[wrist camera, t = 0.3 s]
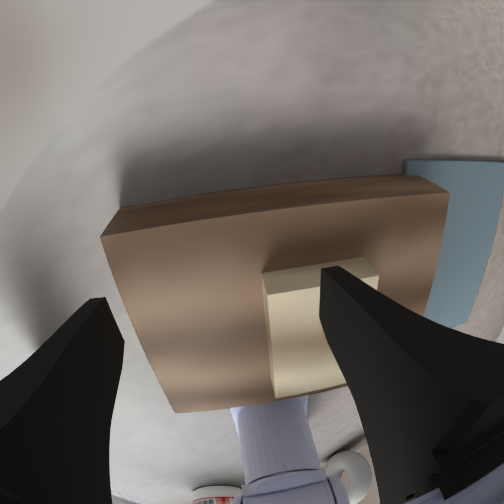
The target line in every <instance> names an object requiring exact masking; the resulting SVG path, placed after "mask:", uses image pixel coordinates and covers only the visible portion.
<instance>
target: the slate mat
mask: <svg viewBox="0 0 504 504" xmlns="http://www.w3.org/2000/svg"><path fill="white" fill-rule="evenodd" d="M404 174H405V175H407V176H413V175H419V176H421V177H423V178H425V179H427V180H428V181H430V182H432V183H434V184H436V185H438V186H440V187H441V188H443V189H445V190H447V191H449V192H450V197H449V204H448V211H447V217H446V223H445V229H444V234H443V239H442V244H441V249H440V254H439V259H438V263H437V267H436V272H435V276H434V280H433V284H432V288H431V291H430V295H429V299H428V302H427V306H426V309H425V313H424V316H423V317H426V318H428V319H430V320H432V321H434V322H436V323H439V324H441V325H443V326H446V327H448V328H452V327H455V326H458V325H460V324H463V323H466V322H467V320H468V318H469V315H470V312H471V310H472V307H473V304H474V302H475V299H476V296H477V293H478V290H479V287H480V284H481V281H482V278H483V275H484V272H485V269H486V265H487V262H488V258H489V255H490V251H491V247H492V244H493V240H494V236H495V231H496V227H497V223H498V218H499V213H500V208H501V203H502V197H503V191H504V162H499V161H474V160H405V171H404Z"/></svg>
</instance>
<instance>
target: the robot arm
mask: <svg viewBox="0 0 504 504" xmlns="http://www.w3.org/2000/svg"><path fill="white" fill-rule="evenodd" d="M319 319H320V322H321V325H322V328H323V331H324V334H325V337H326V340H327V343H328V345H329V347H330V349H331V351H332V353H333V355H334V357H335V360H336V362H337V364H338V366H339V368H340V370H341V372H342V374H343V376H344V378H345V381H346V383H347V385H348V387H349V389H350V391H351V393H352V396H353V398H354V401H355V403H356V407H357V410H358V413H359V416H360V419H361V422H362V425H363V429H364V432H365V436H366V439H367V443H368V446H369V450H370V454H371V458H372V463H373V466H374V471H375V476H376V481H377V486H378V492H379V498H380V504H504V344H501V343H497V342H493V341H489V340H485V339H481V338H478V337H474V336H471V335H468V334H465V333H462V332H459V331H457V330H454V329H451V328H448V327H446V326H443V325H441V324H439V323H436V322H434V321H432V320H430V319H428V318H426V317H423V316H421V315H419V314H417V313H415V312H413V311H411V310H409V309H408V308H406V307H404V306H402V305H401V304H399V303H397V302H395V301H394V300H392V299H390V298H389V297H387V296H385V295H384V294H382V293H380V292H379V291H377V290H376V289H374V288H373V287H371V286H370V285H368V284H366V283H365V282H363V281H362V280H360V279H359V278H357V277H356V276H354V275H353V274H351V273H350V272H348V271H347V270H345V269H343V268H342V267H340V266H332V267H326V268H321V279H320V302H319ZM124 342H125V341H124V339H123V337H122V335H121V333H120V330H119V328H118V326H117V324H116V321H115V319H114V317H113V314H112V312H111V310H110V307H109V305H108V302H107V300H106V297H102V298H93V299H89V300H88V301H87V302H86V303H84V304H83V305H82V306H81V307H80V308H79V309H78V310H77V311H76V312H75V313H74V314H73V315H72V316H71V317H70V318H69V319H68V320H67V321H66V322H65V323H64V324H63V325H62V326H61V327H60V328H59V329H58V330H57V331H56V332H55V333H54V334H53V335H52V336H51V337H50V338H49V339H48V340H47V341H46V342H45V343H44V344H43V345H42V346H41V347H40V348H39V349H38V350H36V351H35V352H34V353H33V354H32V355H31V356H30V357H29V358H28V359H27V360H26V361H25V362H23V363H22V364H21V365H20V366H19V367H17V368H16V369H15V370H14V371H13V372H11V373H10V374H9V375H8V376H6V377H5V378H3V379H2V380H1V381H0V504H112V498H111V487H110V473H109V443H110V427H111V420H112V414H113V409H114V404H115V399H116V394H117V390H118V385H119V380H120V375H121V371H122V365H123V355H124ZM307 408H308V395H306V396H301V397H296V398H291V399H286V400H281V401H275V402H269V403H263V404H257V405H250V406H243V407H235V408H230V411H231V414H232V417H233V421H234V424H235V427H236V430H237V434H238V437H239V440H240V447H241V455H242V462H243V470H244V477H245V484H246V485H242V486H241V487H242V493H241V494H237V495H236V496H235V498H234V499H233V500H232V502H231V504H350V502H349V499H348V496H347V493H346V490H345V487H344V485H343V483H342V481H341V479H340V478H338V477H335V476H334V475H329V476H327V477H326V473H325V470H324V469H321V465H320V462H319V458H318V455H317V451H316V448H315V444H314V441H313V437H312V434H311V430H310V427H309V423H308V420H307Z"/></svg>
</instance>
